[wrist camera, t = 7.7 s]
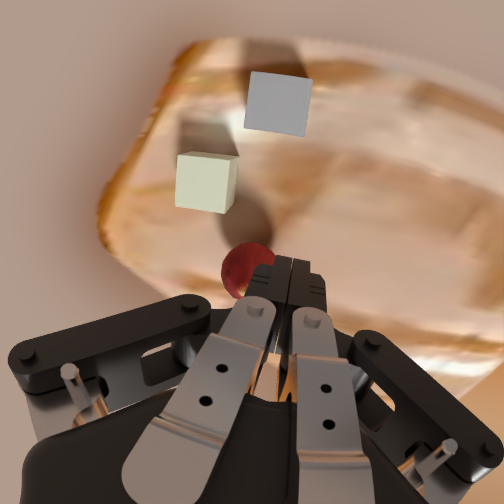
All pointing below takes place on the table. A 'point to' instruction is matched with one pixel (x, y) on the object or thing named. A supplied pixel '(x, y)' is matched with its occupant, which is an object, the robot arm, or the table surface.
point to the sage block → (206, 181)
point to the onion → (243, 266)
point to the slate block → (278, 103)
